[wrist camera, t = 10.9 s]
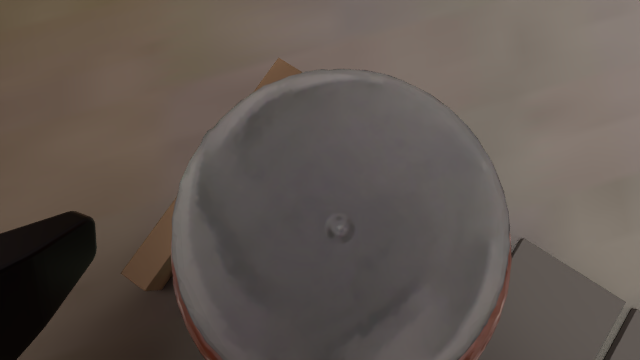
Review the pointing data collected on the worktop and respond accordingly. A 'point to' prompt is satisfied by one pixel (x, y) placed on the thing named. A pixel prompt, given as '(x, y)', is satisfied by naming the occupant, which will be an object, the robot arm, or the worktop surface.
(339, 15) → the worktop surface
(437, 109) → the supplement bottle
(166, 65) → the worktop surface
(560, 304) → the pads
